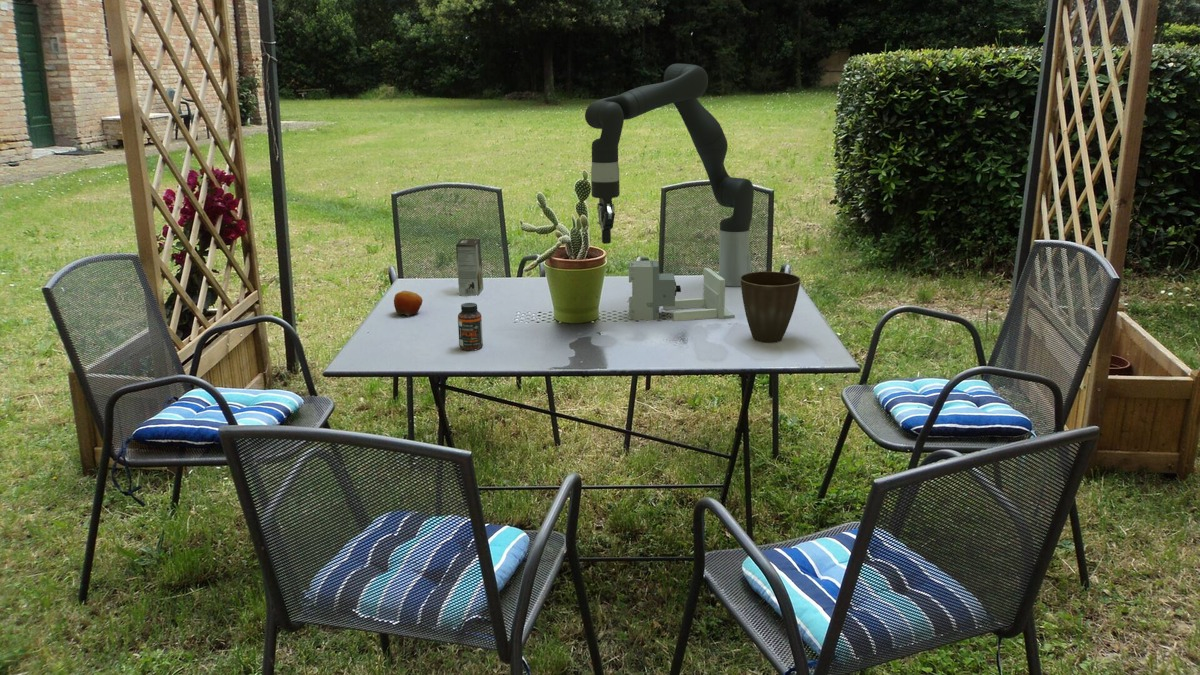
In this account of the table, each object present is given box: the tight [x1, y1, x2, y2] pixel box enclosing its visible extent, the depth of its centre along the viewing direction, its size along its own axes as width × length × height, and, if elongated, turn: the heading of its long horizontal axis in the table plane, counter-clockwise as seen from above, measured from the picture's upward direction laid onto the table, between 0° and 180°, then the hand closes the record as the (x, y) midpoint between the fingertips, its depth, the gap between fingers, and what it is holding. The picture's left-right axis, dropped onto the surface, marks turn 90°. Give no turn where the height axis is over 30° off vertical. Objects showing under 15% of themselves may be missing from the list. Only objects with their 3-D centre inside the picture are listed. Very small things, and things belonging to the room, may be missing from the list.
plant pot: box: [740, 270, 801, 344], centre depth 234 cm, size 15×15×16 cm
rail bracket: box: [662, 267, 735, 322], centre depth 260 cm, size 17×15×11 cm
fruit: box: [393, 290, 423, 318], centre depth 264 cm, size 8×8×8 cm
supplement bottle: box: [457, 302, 484, 351], centre depth 233 cm, size 6×6×11 cm
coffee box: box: [455, 238, 484, 297], centre depth 286 cm, size 9×6×16 cm
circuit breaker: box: [628, 260, 682, 321], centre depth 257 cm, size 8×14×15 cm, turn 89°
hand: (606, 243), depth 251 cm, fingers closed
